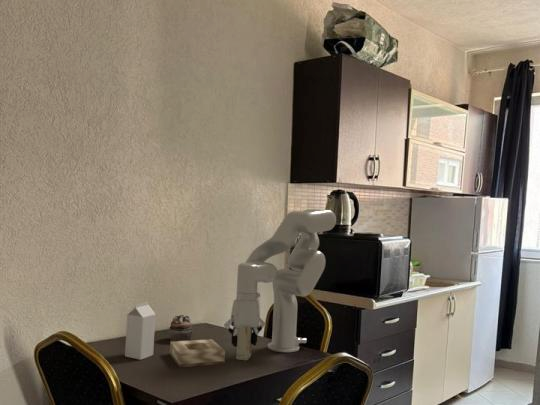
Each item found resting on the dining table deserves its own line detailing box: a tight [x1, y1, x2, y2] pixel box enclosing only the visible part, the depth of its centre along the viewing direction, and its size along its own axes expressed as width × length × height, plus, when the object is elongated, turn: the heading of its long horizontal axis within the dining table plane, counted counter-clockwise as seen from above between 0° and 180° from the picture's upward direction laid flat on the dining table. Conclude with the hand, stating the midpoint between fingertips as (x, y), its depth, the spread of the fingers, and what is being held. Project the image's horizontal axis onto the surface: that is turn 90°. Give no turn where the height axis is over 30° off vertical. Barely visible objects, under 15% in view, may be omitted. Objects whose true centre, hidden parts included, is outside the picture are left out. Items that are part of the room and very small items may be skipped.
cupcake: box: [168, 314, 194, 342], centre depth 198 cm, size 10×10×10 cm
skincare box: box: [235, 326, 253, 361], centre depth 179 cm, size 6×4×12 cm
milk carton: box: [124, 301, 156, 361], centre depth 175 cm, size 7×7×19 cm
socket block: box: [169, 338, 226, 368], centre depth 175 cm, size 16×16×4 cm
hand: (244, 344), depth 179 cm, fingers closed on skincare box, 6 cm apart
